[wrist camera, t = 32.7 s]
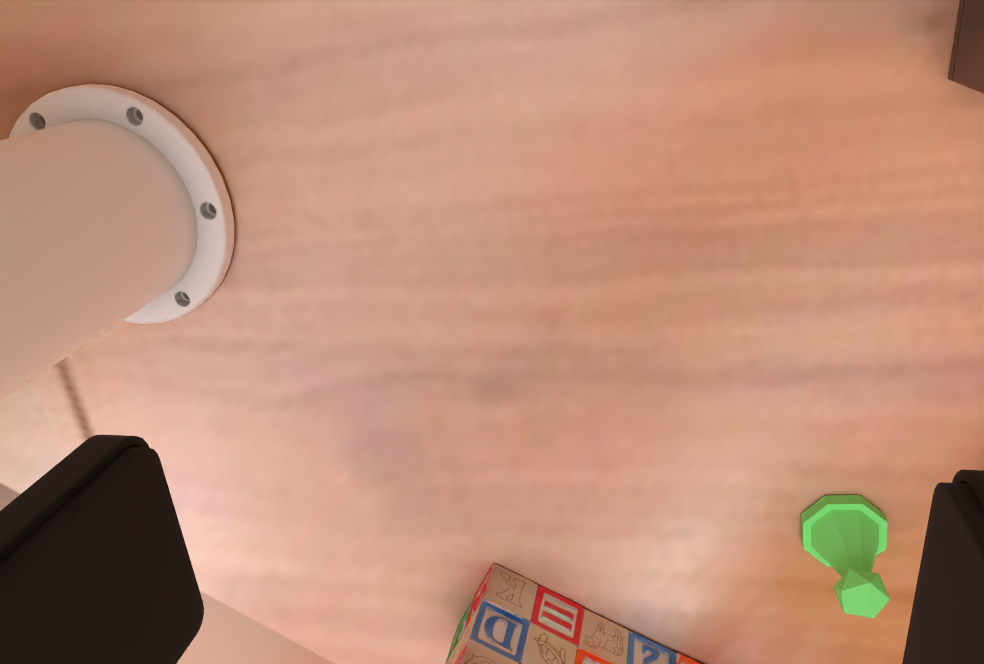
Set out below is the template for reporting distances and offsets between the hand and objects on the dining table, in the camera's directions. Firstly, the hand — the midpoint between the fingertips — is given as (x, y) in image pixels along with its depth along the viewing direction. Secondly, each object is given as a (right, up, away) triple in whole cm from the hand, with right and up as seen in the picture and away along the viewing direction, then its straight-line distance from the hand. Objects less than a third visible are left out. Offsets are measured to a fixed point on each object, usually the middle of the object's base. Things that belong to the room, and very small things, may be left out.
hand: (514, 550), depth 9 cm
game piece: (+18, -7, +31) cm, 37 cm away
